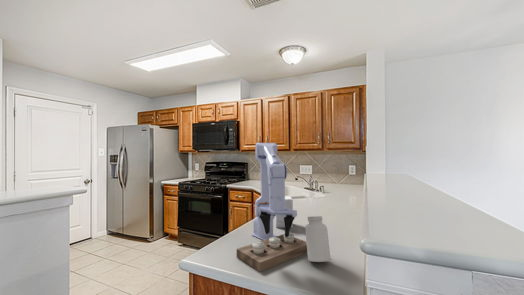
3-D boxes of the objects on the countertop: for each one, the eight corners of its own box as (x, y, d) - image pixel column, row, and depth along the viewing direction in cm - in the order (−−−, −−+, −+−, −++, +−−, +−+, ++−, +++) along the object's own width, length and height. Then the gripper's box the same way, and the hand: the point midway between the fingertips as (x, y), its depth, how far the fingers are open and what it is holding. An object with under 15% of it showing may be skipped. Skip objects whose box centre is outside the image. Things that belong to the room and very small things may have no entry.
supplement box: (292, 228, 119) (293, 199, 120) (275, 227, 120) (275, 199, 120) (290, 222, 129) (291, 196, 129) (275, 222, 129) (275, 196, 129)
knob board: (236, 256, 86) (236, 248, 86) (285, 240, 102) (285, 233, 102) (259, 271, 75) (259, 262, 75) (310, 250, 91) (310, 243, 91)
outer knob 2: (281, 242, 94) (281, 234, 94) (288, 239, 97) (288, 232, 97) (288, 245, 91) (289, 237, 91) (296, 243, 93) (296, 235, 93)
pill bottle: (326, 263, 76) (320, 215, 80) (304, 261, 80) (300, 217, 85) (334, 259, 82) (328, 215, 86) (313, 258, 86) (309, 216, 91)
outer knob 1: (250, 252, 84) (250, 244, 84) (259, 249, 87) (259, 241, 87) (257, 257, 80) (257, 248, 81) (266, 253, 83) (266, 244, 83)
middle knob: (266, 247, 89) (266, 239, 89) (274, 244, 92) (274, 236, 92) (274, 251, 86) (274, 242, 86) (282, 248, 88) (282, 239, 88)
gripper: (254, 196, 83) (254, 234, 82) (292, 200, 76) (292, 241, 75) (263, 194, 89) (263, 229, 88) (298, 197, 83) (299, 235, 82)
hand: (277, 234), depth 82 cm, fingers open, 7 cm apart
